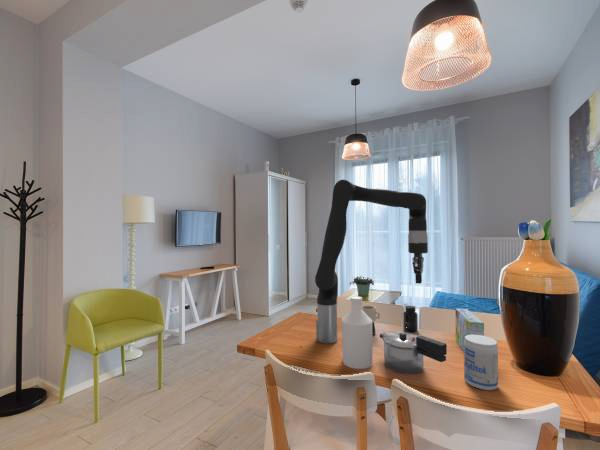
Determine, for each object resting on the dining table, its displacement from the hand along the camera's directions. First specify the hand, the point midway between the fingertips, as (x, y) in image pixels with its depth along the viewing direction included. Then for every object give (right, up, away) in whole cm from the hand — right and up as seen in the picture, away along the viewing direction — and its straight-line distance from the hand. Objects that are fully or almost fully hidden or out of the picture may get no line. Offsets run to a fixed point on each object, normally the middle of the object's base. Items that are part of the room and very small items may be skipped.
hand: (418, 283), depth 121 cm
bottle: (-27, -29, -8) cm, 41 cm away
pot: (-9, -29, -13) cm, 33 cm away
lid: (-8, -20, -14) cm, 26 cm away
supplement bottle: (+7, -30, +27) cm, 40 cm away
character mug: (-15, -30, +23) cm, 41 cm away
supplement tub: (+11, -29, -25) cm, 39 cm away
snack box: (+22, -29, +2) cm, 37 cm away
